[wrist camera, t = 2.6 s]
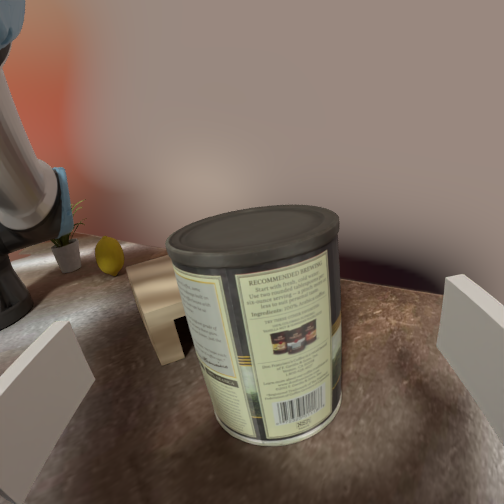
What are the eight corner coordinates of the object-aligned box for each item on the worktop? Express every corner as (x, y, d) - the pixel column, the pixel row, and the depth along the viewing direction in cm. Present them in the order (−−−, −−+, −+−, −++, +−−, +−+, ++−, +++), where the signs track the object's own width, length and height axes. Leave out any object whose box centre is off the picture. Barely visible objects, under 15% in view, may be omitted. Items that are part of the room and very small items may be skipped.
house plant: (114, 257, 69) (98, 188, 64) (71, 281, 57) (49, 203, 52) (80, 257, 75) (65, 196, 69) (40, 278, 63) (21, 211, 57)
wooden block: (136, 306, 43) (125, 267, 41) (236, 274, 49) (230, 237, 47) (161, 365, 29) (143, 313, 27) (297, 313, 35) (292, 264, 34)
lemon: (122, 280, 54) (111, 237, 51) (97, 283, 54) (85, 242, 51) (132, 269, 59) (122, 229, 57) (108, 272, 59) (98, 234, 57)
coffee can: (272, 346, 30) (252, 201, 26) (365, 383, 23) (369, 208, 18) (187, 403, 24) (136, 239, 19) (281, 472, 16) (247, 267, 12)
